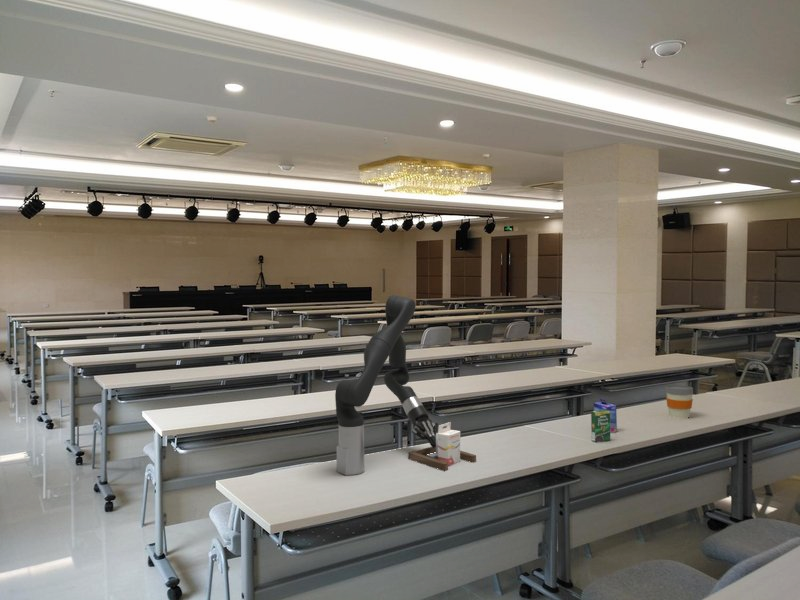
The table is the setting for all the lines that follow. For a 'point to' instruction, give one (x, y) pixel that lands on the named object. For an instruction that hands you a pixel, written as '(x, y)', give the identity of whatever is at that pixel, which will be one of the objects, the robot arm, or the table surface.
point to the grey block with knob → (435, 455)
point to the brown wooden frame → (420, 457)
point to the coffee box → (600, 425)
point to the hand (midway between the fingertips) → (436, 446)
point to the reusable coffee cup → (679, 400)
